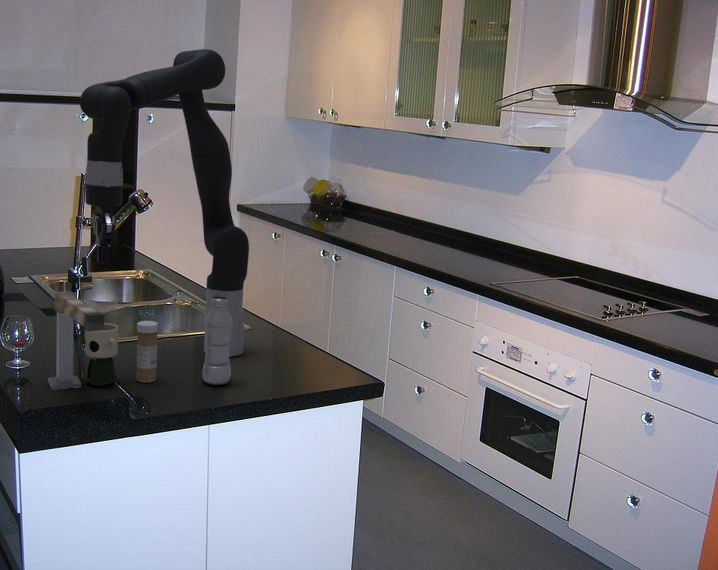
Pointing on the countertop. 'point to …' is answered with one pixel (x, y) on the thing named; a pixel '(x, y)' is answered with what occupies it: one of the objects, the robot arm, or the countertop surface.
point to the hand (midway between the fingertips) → (102, 263)
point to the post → (64, 355)
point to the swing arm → (78, 311)
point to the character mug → (101, 354)
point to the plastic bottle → (217, 342)
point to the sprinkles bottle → (146, 351)
